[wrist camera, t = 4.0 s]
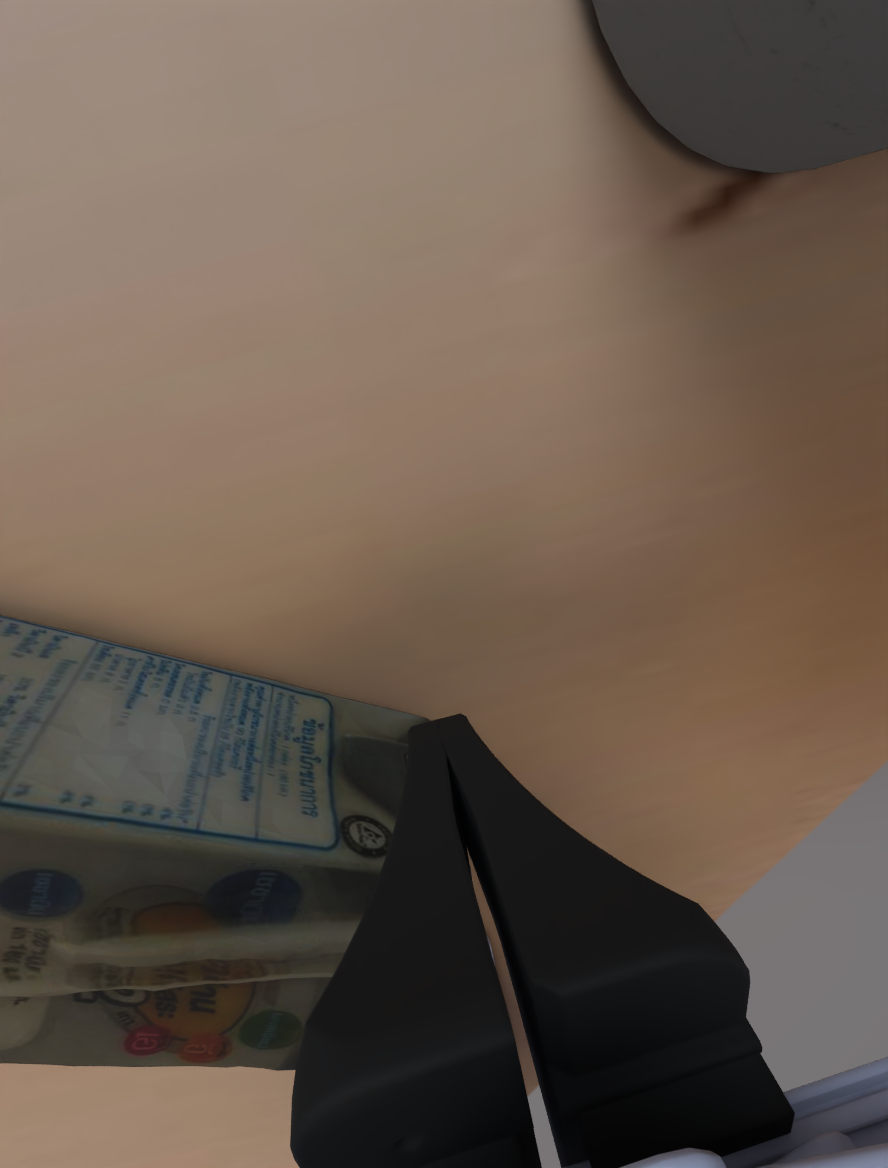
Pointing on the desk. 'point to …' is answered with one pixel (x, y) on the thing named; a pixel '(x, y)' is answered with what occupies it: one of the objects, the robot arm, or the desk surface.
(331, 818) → the beverage carton
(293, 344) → the desk surface
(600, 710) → the desk surface
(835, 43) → the water bottle
